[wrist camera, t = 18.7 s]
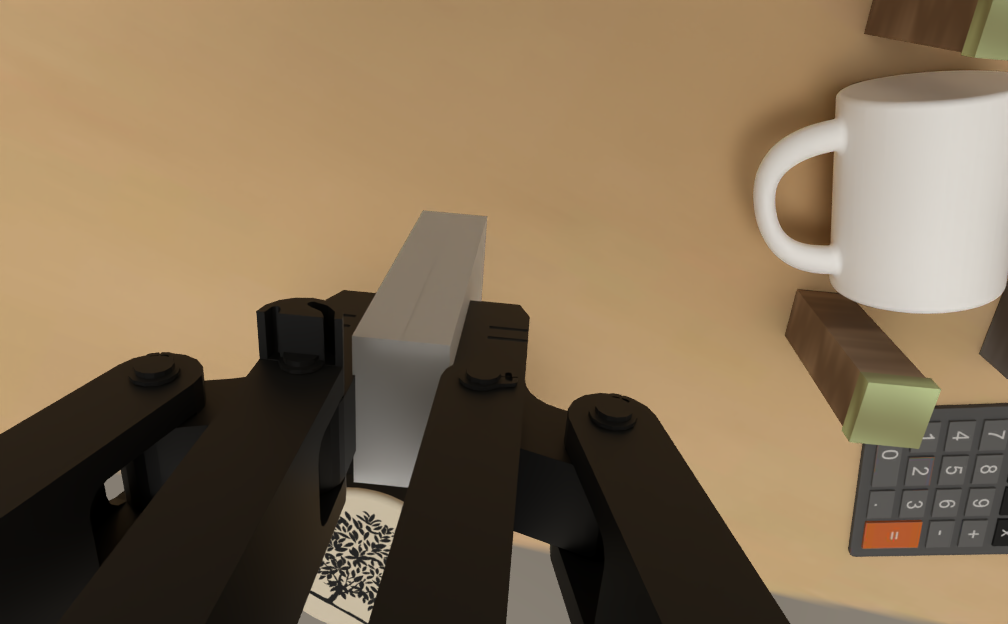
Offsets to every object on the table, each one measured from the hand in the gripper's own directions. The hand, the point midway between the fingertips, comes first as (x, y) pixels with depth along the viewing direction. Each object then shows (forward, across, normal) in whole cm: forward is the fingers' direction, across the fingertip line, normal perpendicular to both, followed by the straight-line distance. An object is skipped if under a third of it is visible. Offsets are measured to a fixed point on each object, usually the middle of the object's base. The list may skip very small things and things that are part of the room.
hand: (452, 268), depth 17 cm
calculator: (+25, +32, -21) cm, 46 cm away
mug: (+25, +19, -2) cm, 31 cm away
